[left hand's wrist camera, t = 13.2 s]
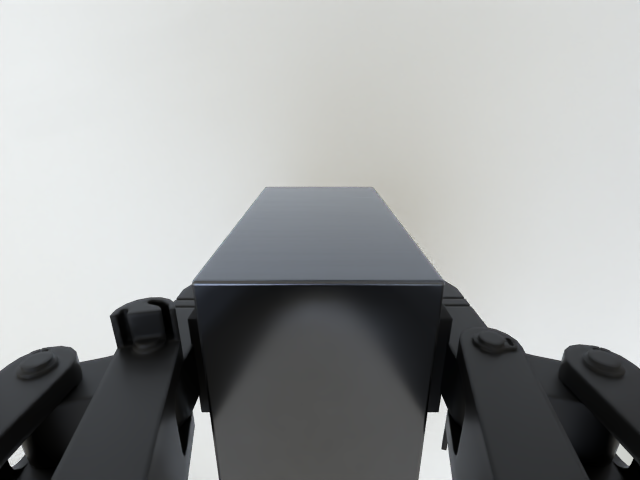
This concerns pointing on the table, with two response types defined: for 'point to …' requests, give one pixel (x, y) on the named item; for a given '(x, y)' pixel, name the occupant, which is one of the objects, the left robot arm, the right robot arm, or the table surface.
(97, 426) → the left robot arm
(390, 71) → the table surface
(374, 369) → the bar
